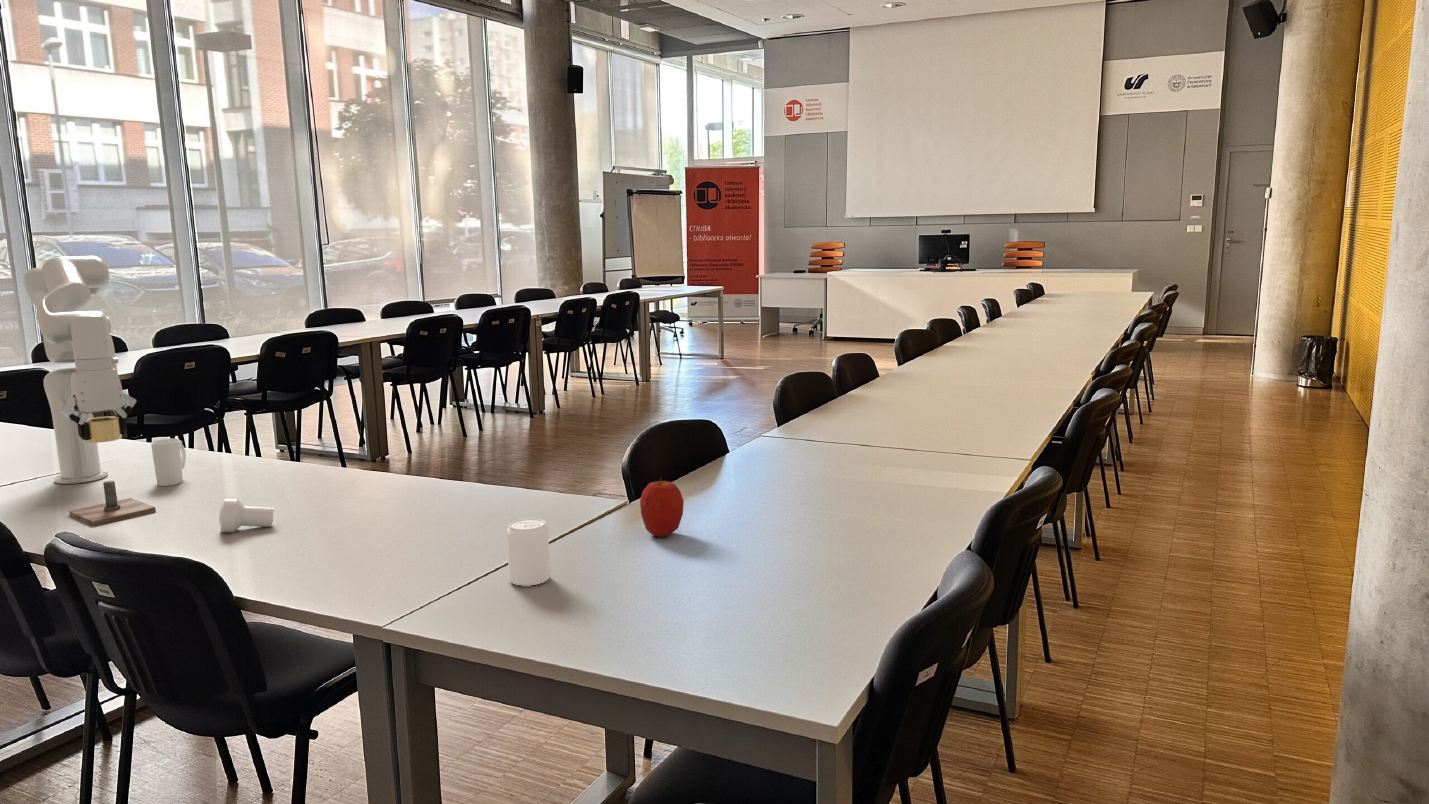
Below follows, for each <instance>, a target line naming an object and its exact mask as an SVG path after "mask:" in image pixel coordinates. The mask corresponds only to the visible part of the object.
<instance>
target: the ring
mask: <svg viewBox="0 0 1429 804" xmlns="http://www.w3.org/2000/svg"><path fill="white" fill-rule="evenodd" d="M85 424H87V425H88V431H89V438H90V439H89V440H86V442H89V443H97V444H99V443H108V442H113V441H117V440H121V439H122V437H123V434H121V428H120V420H119V417H117V416H115V415H114V416H109V415H108V416H96V417H94V418H90V419H87V420H86V421H85Z"/></svg>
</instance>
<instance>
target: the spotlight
mask: <svg viewBox="0 0 1429 804" xmlns="http://www.w3.org/2000/svg"><path fill="white" fill-rule="evenodd" d="M274 510H275V508H274V506H263V505H262V506H259V505H244V504H243V502H241V501H240V499H239V498H238V497H229V496H228V497H227V496H226V497H224V499H223V503H222V505H221V506H220V511H219V519H218V520H219V525H220V529H219V530H220V533H235V531H237V530H239V528H240V527H242V526H243V527H258V528H259V527H261V528H264V527H265V528H267V527H268V528H272V526H273V523H274Z"/></svg>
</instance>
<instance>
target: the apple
mask: <svg viewBox="0 0 1429 804" xmlns="http://www.w3.org/2000/svg"><path fill="white" fill-rule="evenodd" d="M659 479H660V480H657V481H652V482H649V483H647V485H646V486H645V488H644V489H643V490H642V493H641V496H640V499H639V506H640V515H641V518H642V521H643V524H644V527H645V529H646V531H647V532H648V533H649V534H651V535H652V536H653V537H654V536H658V537H657V538H664V537H663V536H665V537H668V536H670V535H672V534H673V533H674V532H675V531H676V530H678V529H679V527H680V524H681V520H682V517H683V515H684V501H685V500H684V498H683V495H682V492H681V490H680V488H679V487H678V486H677V485H676V484H675V482H674V483H673V482H671V481H667V480H662V477H661V476H660V477H659Z"/></svg>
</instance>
